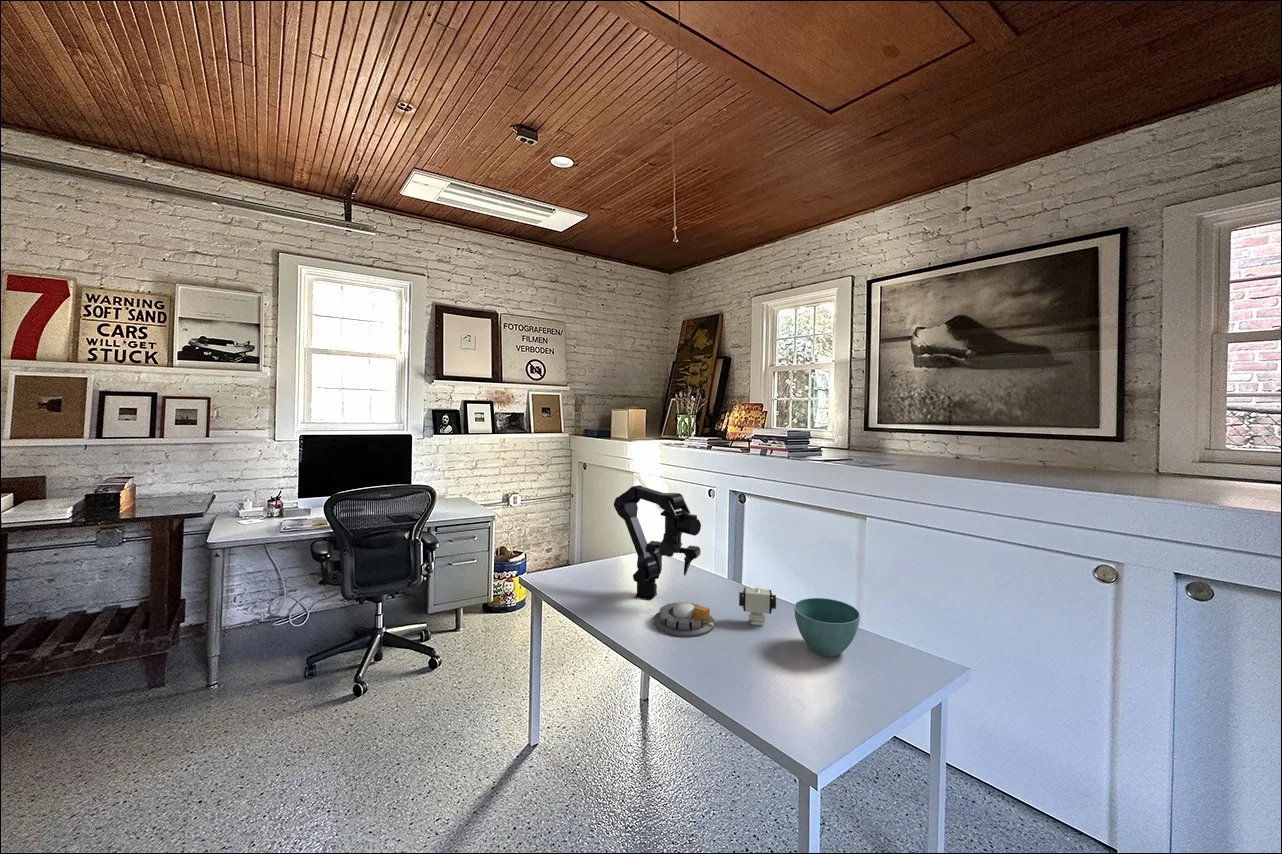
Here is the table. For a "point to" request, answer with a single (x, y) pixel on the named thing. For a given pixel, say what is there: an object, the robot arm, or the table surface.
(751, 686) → the table surface
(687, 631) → the cap base
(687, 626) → the grey toothed bowl
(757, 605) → the pneumatic valve
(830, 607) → the teal hollow rounded piece
